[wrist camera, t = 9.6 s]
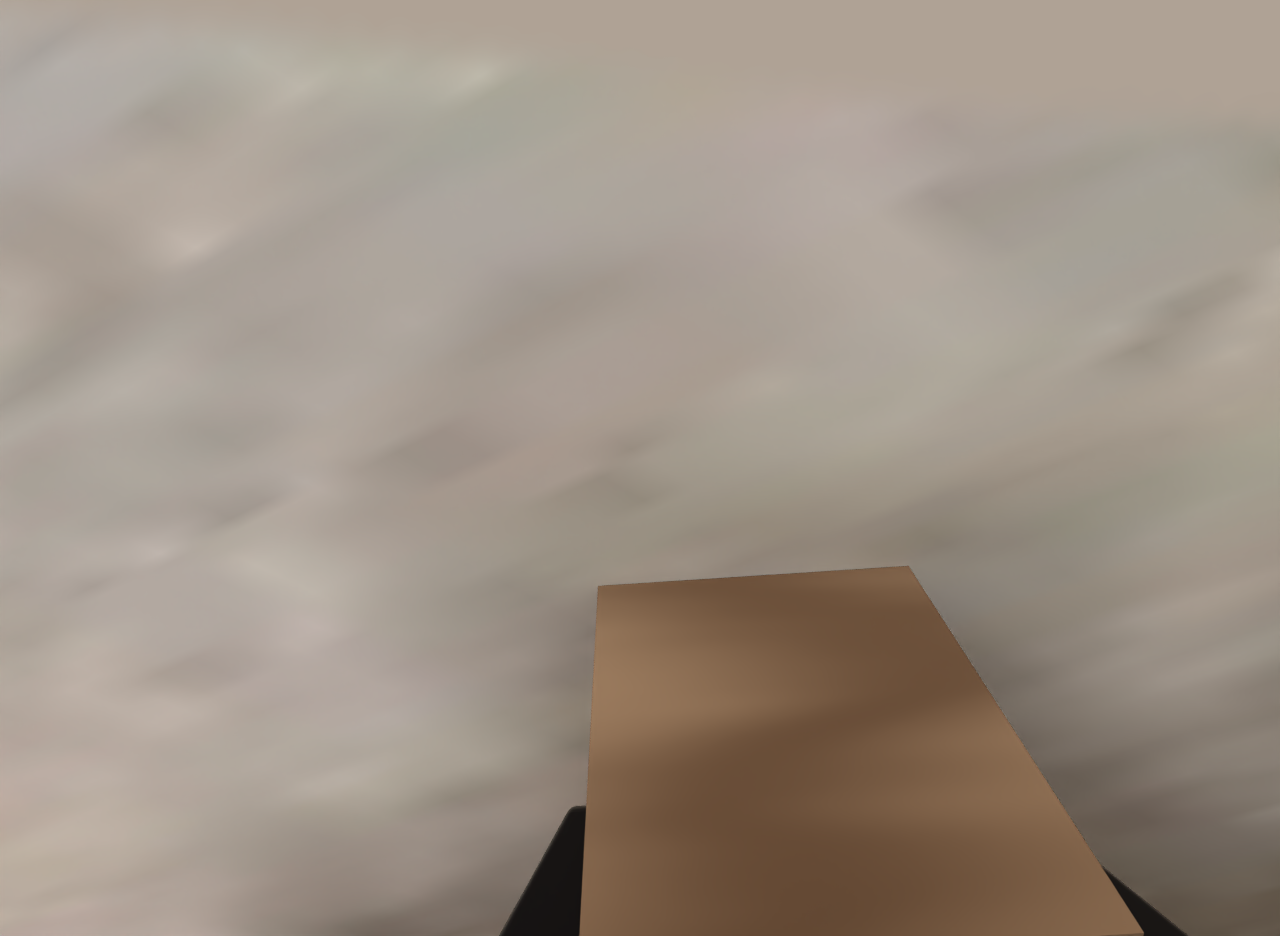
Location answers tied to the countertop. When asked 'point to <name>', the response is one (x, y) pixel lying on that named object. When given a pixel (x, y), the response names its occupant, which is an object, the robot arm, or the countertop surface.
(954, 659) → the block
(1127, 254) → the countertop surface
